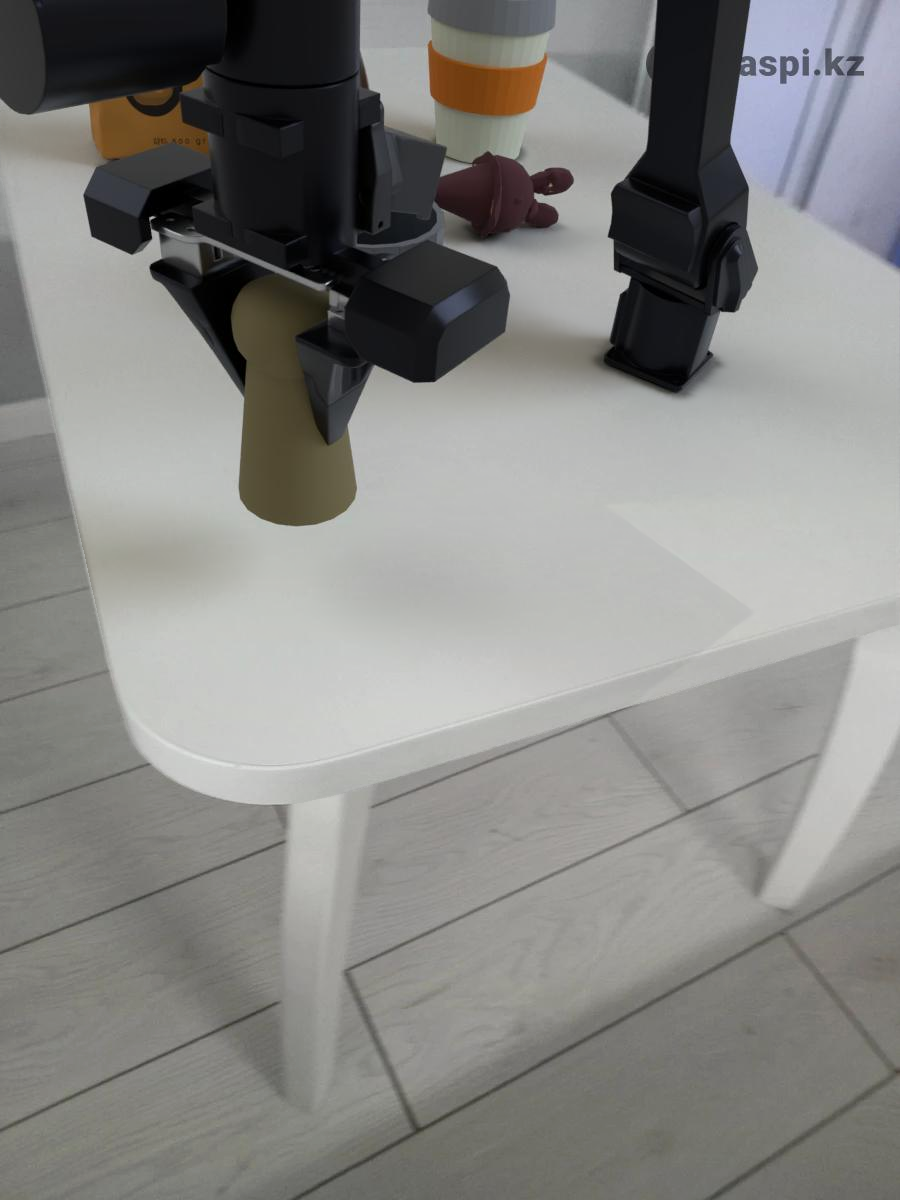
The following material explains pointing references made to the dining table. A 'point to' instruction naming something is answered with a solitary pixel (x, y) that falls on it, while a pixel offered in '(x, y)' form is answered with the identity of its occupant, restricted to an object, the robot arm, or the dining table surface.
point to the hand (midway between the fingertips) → (296, 422)
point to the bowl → (404, 233)
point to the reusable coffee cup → (486, 72)
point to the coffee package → (144, 123)
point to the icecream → (501, 194)
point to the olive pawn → (285, 410)
